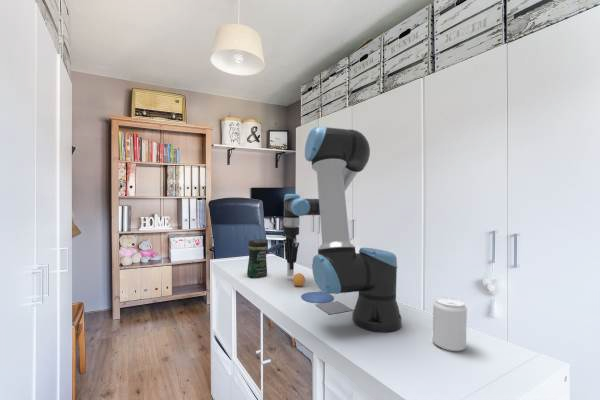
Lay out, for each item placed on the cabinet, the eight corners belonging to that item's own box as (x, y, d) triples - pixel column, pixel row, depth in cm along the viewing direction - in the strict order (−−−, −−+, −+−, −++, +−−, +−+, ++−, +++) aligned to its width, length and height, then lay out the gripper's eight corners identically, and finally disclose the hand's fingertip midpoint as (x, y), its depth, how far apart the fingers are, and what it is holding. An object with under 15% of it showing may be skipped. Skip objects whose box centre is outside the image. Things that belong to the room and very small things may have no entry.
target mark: (340, 300, 115) (340, 300, 115) (310, 305, 109) (310, 304, 109) (323, 290, 126) (323, 290, 126) (295, 294, 121) (295, 294, 121)
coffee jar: (252, 279, 142) (253, 240, 142) (245, 275, 149) (245, 238, 149) (269, 276, 148) (270, 239, 148) (262, 273, 154) (262, 237, 154)
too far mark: (353, 310, 104) (353, 309, 104) (329, 314, 100) (329, 314, 100) (337, 301, 113) (337, 300, 113) (314, 305, 109) (314, 304, 109)
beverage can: (458, 339, 84) (458, 297, 84) (471, 354, 76) (472, 307, 76) (428, 337, 85) (429, 295, 85) (438, 351, 77) (439, 305, 77)
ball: (307, 286, 132) (307, 274, 132) (295, 288, 129) (296, 275, 129) (301, 283, 137) (301, 271, 137) (290, 284, 134) (291, 272, 134)
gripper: (278, 225, 146) (277, 273, 146) (289, 228, 134) (288, 280, 134) (292, 225, 149) (291, 271, 149) (304, 227, 137) (303, 278, 137)
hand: (290, 275), depth 141 cm, fingers closed
